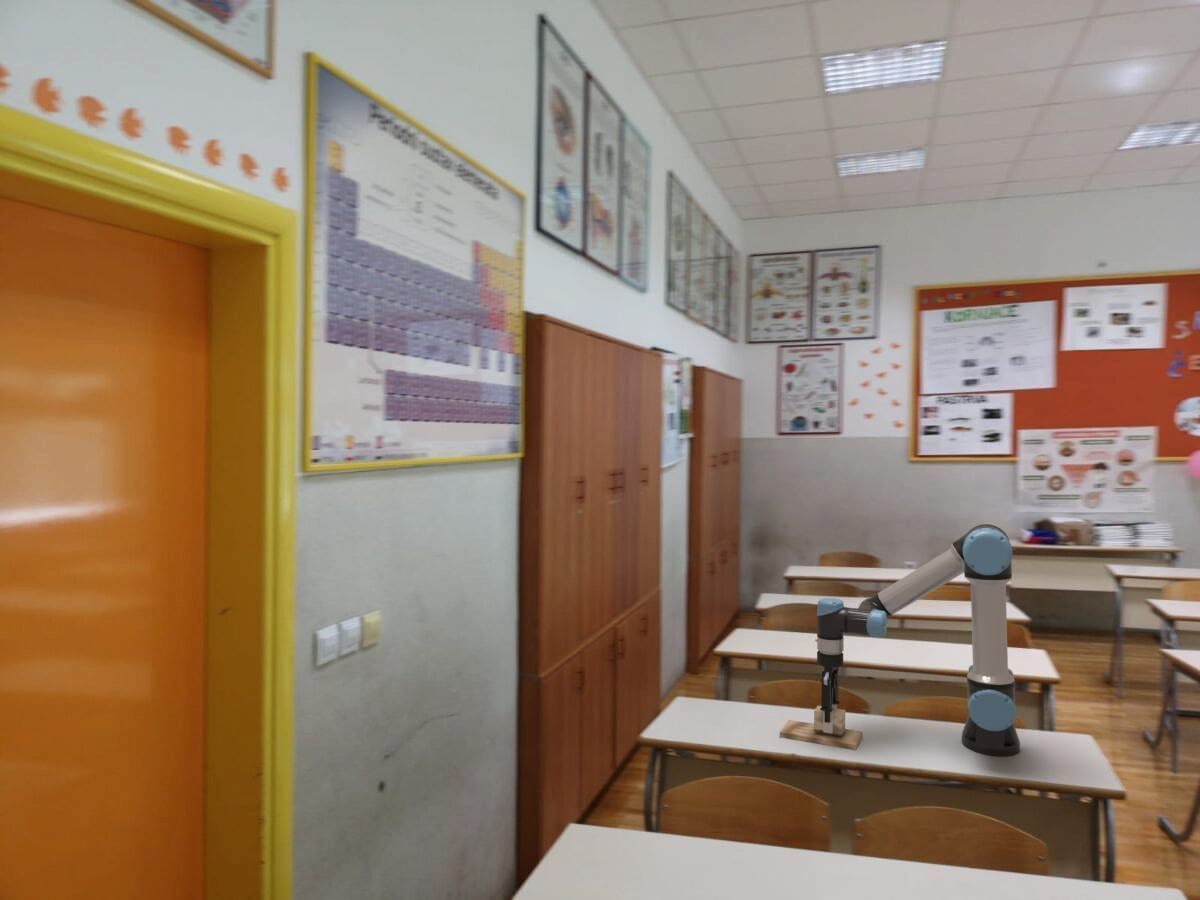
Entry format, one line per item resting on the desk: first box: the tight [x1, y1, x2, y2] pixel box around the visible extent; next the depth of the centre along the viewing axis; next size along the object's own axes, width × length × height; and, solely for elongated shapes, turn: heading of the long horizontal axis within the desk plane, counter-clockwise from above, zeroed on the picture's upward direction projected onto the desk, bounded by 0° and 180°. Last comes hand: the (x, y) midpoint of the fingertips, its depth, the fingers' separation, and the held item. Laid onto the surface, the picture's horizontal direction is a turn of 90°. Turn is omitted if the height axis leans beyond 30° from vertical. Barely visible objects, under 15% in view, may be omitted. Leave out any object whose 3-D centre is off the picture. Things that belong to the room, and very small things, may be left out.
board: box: [779, 719, 863, 751], centre depth 237 cm, size 22×11×2 cm, turn 62°
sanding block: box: [813, 705, 846, 736], centre depth 236 cm, size 8×5×6 cm, turn 62°
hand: (830, 728), depth 236 cm, fingers closed on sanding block, 5 cm apart
